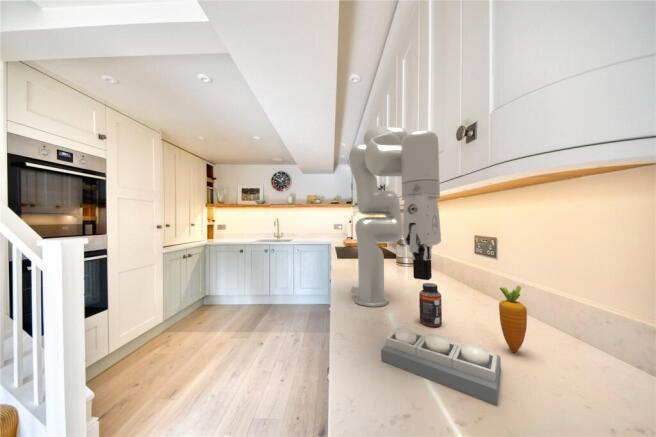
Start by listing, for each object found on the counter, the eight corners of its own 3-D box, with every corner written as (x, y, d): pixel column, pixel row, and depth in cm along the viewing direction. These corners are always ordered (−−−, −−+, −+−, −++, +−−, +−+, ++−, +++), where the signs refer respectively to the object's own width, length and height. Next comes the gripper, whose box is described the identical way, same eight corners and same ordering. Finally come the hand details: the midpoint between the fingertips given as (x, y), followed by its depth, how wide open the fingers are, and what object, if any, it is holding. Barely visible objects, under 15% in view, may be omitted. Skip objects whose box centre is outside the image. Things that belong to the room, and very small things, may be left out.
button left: (392, 343, 51) (392, 334, 51) (400, 336, 55) (399, 327, 55) (412, 350, 49) (412, 340, 49) (419, 342, 52) (419, 332, 52)
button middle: (422, 349, 47) (422, 339, 47) (429, 341, 51) (429, 331, 51) (446, 357, 45) (446, 346, 45) (451, 347, 48) (451, 337, 48)
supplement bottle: (444, 328, 65) (443, 287, 65) (421, 327, 66) (421, 286, 66) (438, 320, 71) (438, 282, 71) (418, 318, 72) (417, 281, 72)
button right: (459, 361, 43) (459, 350, 43) (463, 350, 47) (463, 340, 47) (488, 370, 40) (487, 358, 40) (490, 358, 44) (489, 347, 44)
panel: (381, 360, 50) (381, 340, 50) (402, 338, 59) (402, 322, 59) (497, 405, 37) (496, 378, 37) (500, 368, 47) (500, 347, 47)
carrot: (498, 352, 52) (496, 285, 53) (502, 344, 56) (500, 281, 56) (527, 361, 49) (524, 289, 49) (529, 352, 53) (527, 285, 53)
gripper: (427, 185, 42) (430, 289, 41) (448, 193, 53) (450, 275, 53) (388, 190, 47) (390, 282, 46) (415, 196, 58) (417, 271, 57)
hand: (422, 278), depth 49 cm, fingers closed
